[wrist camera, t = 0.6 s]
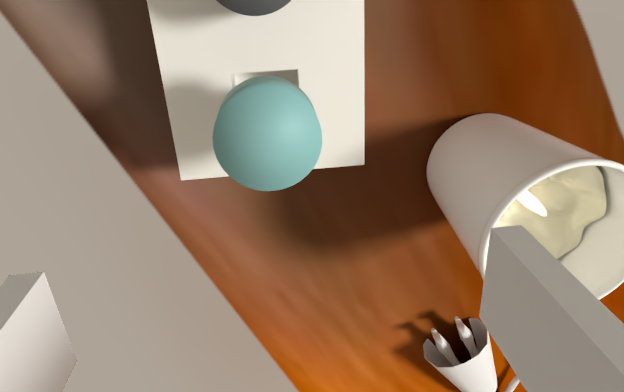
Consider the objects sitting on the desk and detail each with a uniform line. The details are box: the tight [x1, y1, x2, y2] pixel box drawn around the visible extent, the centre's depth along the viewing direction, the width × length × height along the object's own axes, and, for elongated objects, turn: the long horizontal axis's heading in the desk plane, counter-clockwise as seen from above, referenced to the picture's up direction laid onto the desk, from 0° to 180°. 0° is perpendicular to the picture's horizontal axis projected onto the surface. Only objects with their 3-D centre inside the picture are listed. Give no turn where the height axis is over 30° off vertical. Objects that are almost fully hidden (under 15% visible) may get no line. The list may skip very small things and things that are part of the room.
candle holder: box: [427, 113, 624, 300], centre depth 31 cm, size 10×10×12 cm
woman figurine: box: [423, 316, 520, 392], centre depth 44 cm, size 12×4×18 cm
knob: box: [213, 76, 322, 191], centre depth 25 cm, size 5×5×7 cm
